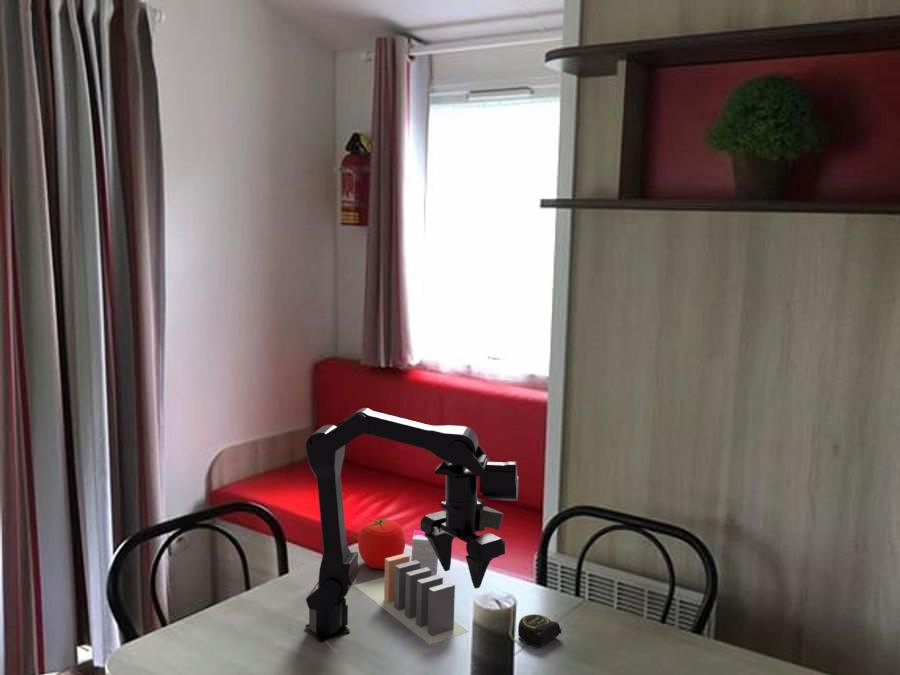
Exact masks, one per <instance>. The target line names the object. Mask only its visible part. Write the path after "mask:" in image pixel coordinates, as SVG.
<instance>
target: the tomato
mask: <svg viewBox="0 0 900 675" xmlns="http://www.w3.org/2000/svg"><path fill="white" fill-rule="evenodd" d="M370 520H372V521H370V522H368V523H366V524H364V525H363V526H362V528H361V529H360V532H359V534H358V539H357V548H358V554H359V555H360V557H361V559H362V560H363V562H364V563H365V564H366V565H367V566H369V567H370V568H373V569H378V570H379V569H380V570H383V569H384V570H385V558H389V557H393V556H397V555H401V554H405V549H406V539H405V534H404V532H403V529H402V527H401V525H400V524H399V523H398V522H397V521H395V520H393V519H387V517H385V518H382V519H372V518H370Z"/></svg>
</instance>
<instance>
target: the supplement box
mask: <svg viewBox="0 0 900 675" xmlns="http://www.w3.org/2000/svg"><path fill="white" fill-rule="evenodd" d="M411 543H412V545H411V556H410V557H411V558H410V559H411V560H410V562H411V561H414V560H417V561H418V562H420V569H422V568H425V567H428V568H429V569H431V576H434V575H438V564H439V559H438V557H437V555H436V553H435V551H434V549H433V547H432V546H431V544H430V542H429V540H428V538H427V537H425V532H423V531H421V529H420V530H418V529H414V530H413V534H412V542H411Z"/></svg>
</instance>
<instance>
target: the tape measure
mask: <svg viewBox="0 0 900 675" xmlns="http://www.w3.org/2000/svg"><path fill="white" fill-rule="evenodd" d="M517 628H518V631H517V632H518V633H517V634H518V637H519V639H520V640H521V641H522V642H524V643H525V644H529V645H532V646H534V647H542V646H544V645H545V644H547V643H548V642H551V640H553V639H554V640H555V639H556V638H557V637H558V636H560V634H562V631H563V630H562V628H561V627H560V623H558V622H557V621H551V619H549V618H548V617H547V616H544V615H541V614H527V615H525V616H523V617H522V618H521V619H520V620H519V622H518V626H517Z"/></svg>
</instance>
